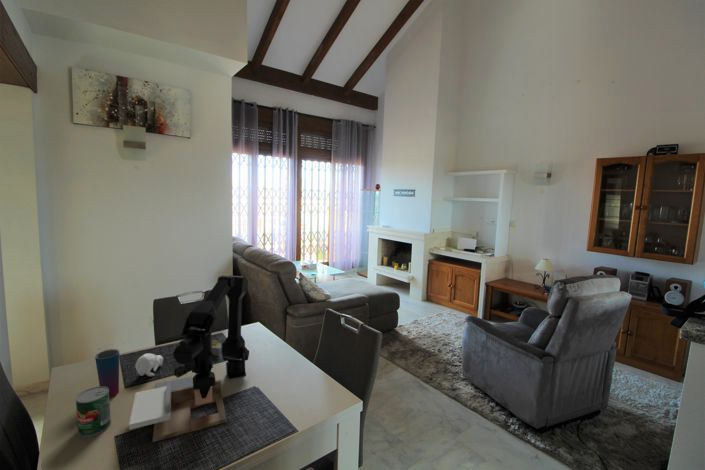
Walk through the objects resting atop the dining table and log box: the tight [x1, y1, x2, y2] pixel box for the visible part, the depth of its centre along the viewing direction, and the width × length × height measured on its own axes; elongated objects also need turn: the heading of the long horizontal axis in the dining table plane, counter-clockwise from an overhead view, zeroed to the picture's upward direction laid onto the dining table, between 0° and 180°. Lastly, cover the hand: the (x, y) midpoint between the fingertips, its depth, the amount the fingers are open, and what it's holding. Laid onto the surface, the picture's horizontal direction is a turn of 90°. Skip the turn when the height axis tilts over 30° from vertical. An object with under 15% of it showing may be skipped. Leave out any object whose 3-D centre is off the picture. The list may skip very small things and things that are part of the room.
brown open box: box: [152, 379, 227, 443], centre depth 107 cm, size 20×16×6 cm
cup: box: [94, 348, 120, 399], centre depth 117 cm, size 7×7×15 cm
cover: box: [128, 382, 171, 431], centre depth 102 cm, size 10×16×4 cm, turn 27°
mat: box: [155, 375, 193, 390], centre depth 121 cm, size 12×12×1 cm
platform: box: [212, 339, 222, 357], centre depth 148 cm, size 12×18×7 cm, turn 78°
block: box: [195, 386, 212, 406], centre depth 109 cm, size 5×5×5 cm
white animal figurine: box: [134, 353, 164, 377], centre depth 132 cm, size 6×8×12 cm
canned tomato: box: [75, 385, 112, 438], centre depth 100 cm, size 8×8×11 cm
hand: (203, 393), depth 109 cm, fingers closed on block, 5 cm apart
